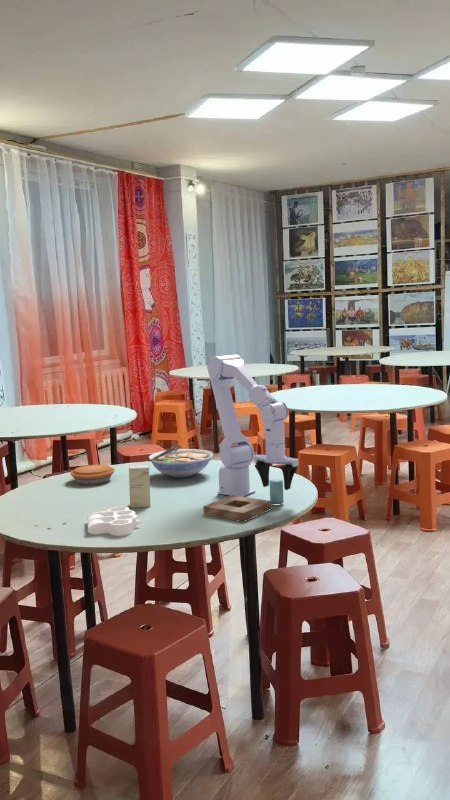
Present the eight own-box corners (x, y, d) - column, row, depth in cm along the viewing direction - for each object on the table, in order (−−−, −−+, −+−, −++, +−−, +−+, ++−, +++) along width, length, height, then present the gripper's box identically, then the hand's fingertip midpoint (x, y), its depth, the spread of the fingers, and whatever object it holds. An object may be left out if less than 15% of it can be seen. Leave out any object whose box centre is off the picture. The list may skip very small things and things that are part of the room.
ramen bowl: (197, 486, 240) (196, 462, 239) (136, 482, 248) (135, 459, 247) (224, 469, 263) (223, 447, 262) (167, 466, 271) (166, 445, 270)
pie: (117, 484, 247) (116, 470, 246) (71, 488, 243) (70, 474, 243) (113, 474, 262) (112, 461, 261) (70, 478, 258) (69, 464, 257)
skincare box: (130, 508, 216) (127, 468, 214) (130, 504, 220) (128, 465, 219) (151, 506, 217) (149, 467, 215) (151, 502, 221) (149, 464, 219)
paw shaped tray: (87, 520, 206) (138, 516, 209) (88, 540, 188) (144, 534, 191) (87, 509, 206) (138, 504, 208) (87, 527, 188) (143, 522, 191)
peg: (267, 504, 215) (266, 481, 214) (274, 501, 218) (274, 478, 217) (278, 506, 212) (278, 483, 211) (286, 502, 215) (285, 480, 214)
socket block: (204, 514, 206) (203, 506, 206) (232, 502, 217) (232, 494, 217) (243, 521, 198) (243, 513, 198) (271, 509, 209) (271, 501, 209)
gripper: (247, 443, 214) (249, 487, 215) (289, 447, 205) (290, 493, 207) (260, 439, 219) (262, 482, 221) (301, 443, 211) (302, 488, 212)
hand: (276, 487), depth 214 cm, fingers open, 7 cm apart
